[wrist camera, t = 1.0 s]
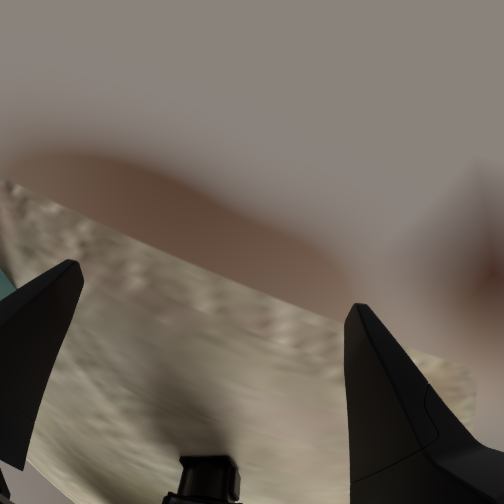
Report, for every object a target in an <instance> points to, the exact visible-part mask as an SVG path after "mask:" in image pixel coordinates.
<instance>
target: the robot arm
mask: <svg viewBox="0 0 504 504" xmlns="http://www.w3.org/2000/svg"><path fill="white" fill-rule="evenodd" d="M83 285H84V278H83V275H82V271H81V268H80V265H79V263H78V261H76V260H71V259H67V260H65V261H63V262H61V263H60V264H58V265H56V266H55V267H53V268H51V269H50V270H48V271H46V272H45V273H43V274H41V275H40V276H38V277H36V278H35V279H33V280H31V281H30V282H28V283H27V284H25V285H23V286H22V287H20V288H19V289H17V290H16V291H14V292H13V293H11V294H9V295H8V296H6V297H5V298H3V299H2V300H0V460H2V461H3V462H5V463H7V464H9V465H11V466H13V467H15V468H17V469H19V470H21V471H23V469H24V465H25V461H26V456H27V452H28V447H29V443H30V439H31V435H32V431H33V428H34V424H35V423H34V422H35V420H36V417H37V413H38V410H39V407H40V403H41V400H42V397H43V394H44V391H45V388H46V385H47V382H48V379H49V376H50V374H51V371H52V368H53V365H54V363H55V360H56V358H57V355H58V352H59V350H60V347H61V345H62V342H63V340H64V338H65V335H66V333H67V330H68V328H69V326H70V323H71V320H72V318H73V315H74V311H75V308H76V305H77V303H78V300H79V297H80V294H81V291H82V288H83ZM344 376H345V387H346V400H347V414H348V430H349V453H350V504H504V452H501V451H498V450H495V449H491V448H488V447H486V446H484V445H482V444H481V443H479V442H478V441H477V440H476V439H475V438H474V437H473V436H472V435H471V434H470V432H469V431H468V430H467V429H466V428H465V427H464V425H463V424H462V423H461V422H460V421H459V420H458V418H457V417H456V416H455V415H454V414H453V413H452V411H451V410H450V409H449V408H448V407H447V405H446V404H445V403H444V402H443V401H442V399H441V398H440V397H439V395H438V394H437V393H436V391H435V390H434V389H433V387H432V386H431V385H430V384H428V381H427V379H426V378H425V377H424V375H423V374H422V373H421V372H420V370H419V369H418V368H417V366H416V365H415V364H414V362H413V361H412V360H411V358H410V357H409V356H408V355H407V353H406V352H405V351H404V349H403V348H402V347H401V346H400V344H399V343H398V342H397V341H396V339H395V338H394V337H393V336H392V334H391V333H390V332H389V331H388V329H387V328H386V327H385V326H384V324H383V323H382V322H381V321H380V319H379V318H378V317H377V316H376V315H375V313H374V312H373V311H372V310H371V308H370V307H369V306H368V305H367V304H362V303H355V304H353V306H352V308H351V310H350V312H349V314H348V316H347V318H346V320H345V324H344ZM179 461H180V463H181V464H182V466H183V472H182V476H181V480H180V484H179V488H178V492H177V494H175V493H173V492H168V494H167V496H165V497H164V498H163V502H162V504H243V503H235V501H238V500H239V495H240V480H241V477H240V475H239V473H238V470H237V468H236V467H234V466H233V464H232V461H231V459H230V457H228V456H209V457H180V459H179ZM10 495H11V494H10V492H9V489H8V487H7V484H6V482H5V479H4V477H3V474H2V471H1V469H0V504H14V503H13V502H11V501H10V500H9V499H10Z"/></svg>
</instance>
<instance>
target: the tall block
mask: <svg viewBox="0 0 504 504" xmlns="http://www.w3.org/2000/svg"><path fill="white" fill-rule="evenodd" d="M14 291H16V289H15V287H14V286H13V285H12V283H11V282H10V281H9V279H8V278H7V277H6V275H5V274H4V272H3V271H2V270H1V268H0V300H2V299H3V298H5V297H6V296H8V295H9V294H11V293H13V292H14Z"/></svg>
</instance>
